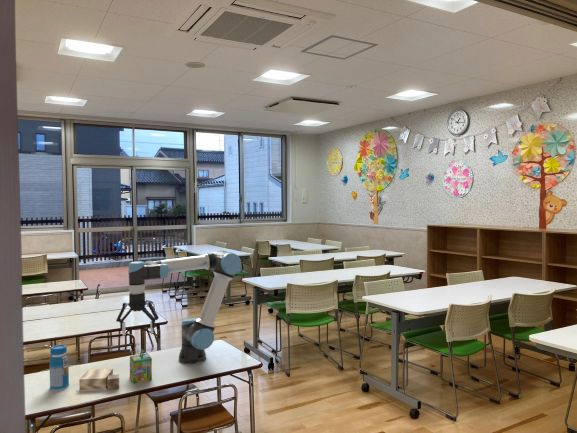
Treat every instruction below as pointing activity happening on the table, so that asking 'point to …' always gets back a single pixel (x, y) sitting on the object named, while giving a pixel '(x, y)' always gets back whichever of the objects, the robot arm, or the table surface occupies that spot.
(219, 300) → the robot arm
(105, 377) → the base block
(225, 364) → the table surface
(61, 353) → the beverage bottle
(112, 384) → the walnut cube
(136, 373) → the green juice carton
